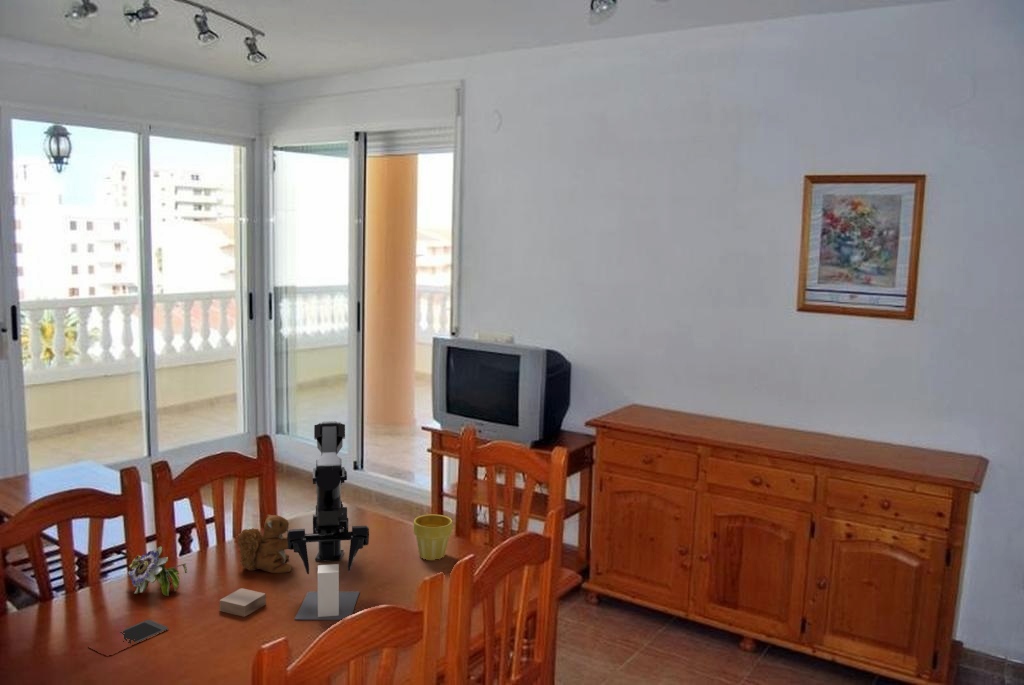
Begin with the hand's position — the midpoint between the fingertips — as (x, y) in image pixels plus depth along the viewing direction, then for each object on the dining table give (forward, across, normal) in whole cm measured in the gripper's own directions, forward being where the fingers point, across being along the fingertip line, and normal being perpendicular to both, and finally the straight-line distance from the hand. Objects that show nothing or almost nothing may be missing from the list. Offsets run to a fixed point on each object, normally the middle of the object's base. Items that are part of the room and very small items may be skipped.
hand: (328, 572), depth 183 cm
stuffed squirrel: (-11, -16, +21) cm, 28 cm away
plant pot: (-11, +27, +21) cm, 36 cm away
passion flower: (-4, -40, +14) cm, 42 cm away
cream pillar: (+9, 0, -1) cm, 9 cm away
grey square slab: (+5, -19, +4) cm, 20 cm away
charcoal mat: (+7, 0, +2) cm, 7 cm away
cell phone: (+13, -40, -3) cm, 42 cm away
